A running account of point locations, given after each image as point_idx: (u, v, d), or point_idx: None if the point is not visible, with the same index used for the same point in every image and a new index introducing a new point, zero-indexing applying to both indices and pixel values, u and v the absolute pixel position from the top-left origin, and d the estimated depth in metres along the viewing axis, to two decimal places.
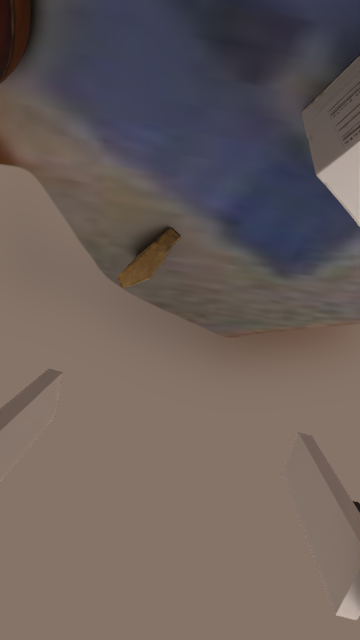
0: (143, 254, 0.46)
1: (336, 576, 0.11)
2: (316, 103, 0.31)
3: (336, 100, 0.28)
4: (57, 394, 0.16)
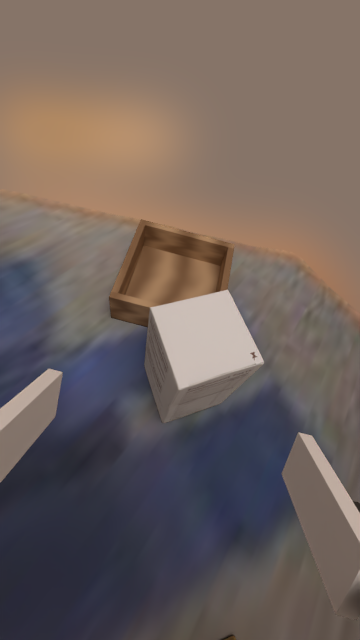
0: None
1: (336, 576, 0.11)
2: (158, 407, 0.40)
3: (157, 388, 0.37)
4: (57, 394, 0.16)
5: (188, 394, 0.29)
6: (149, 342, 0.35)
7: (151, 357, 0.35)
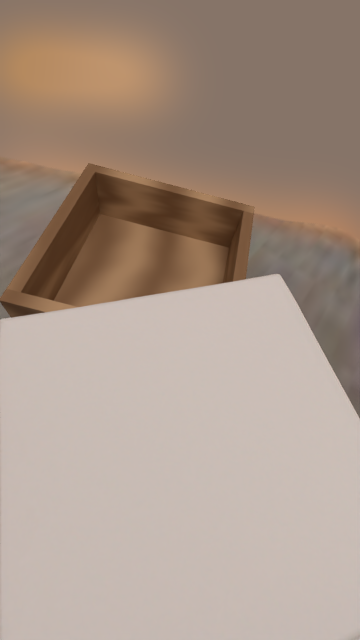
0: None
1: None
2: None
3: None
4: None
5: None
6: None
7: None
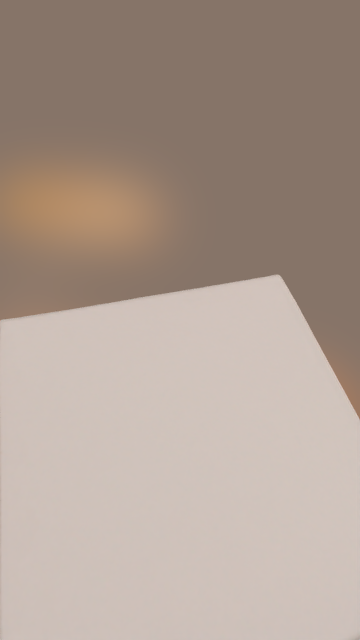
0: None
1: None
2: None
3: None
4: None
5: None
6: None
7: None
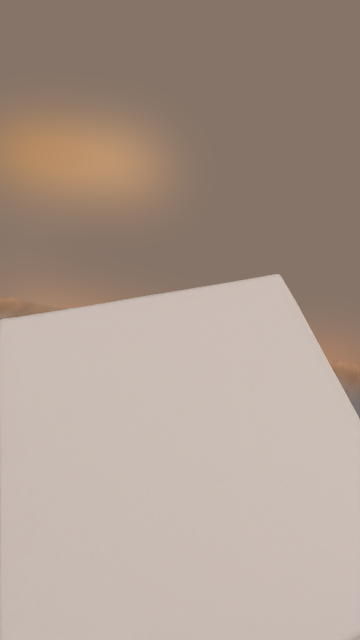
0: None
1: None
2: None
3: None
4: None
5: None
6: None
7: None
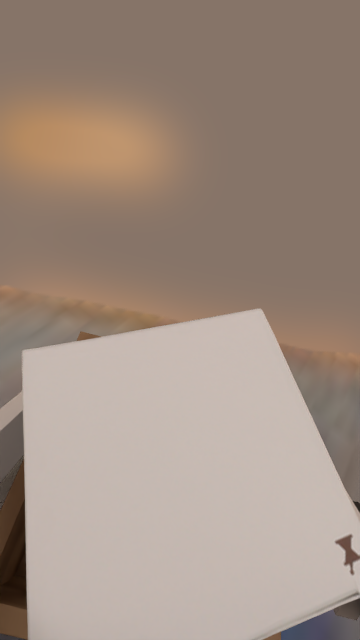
0: None
1: None
2: None
3: None
4: None
5: None
6: None
7: None
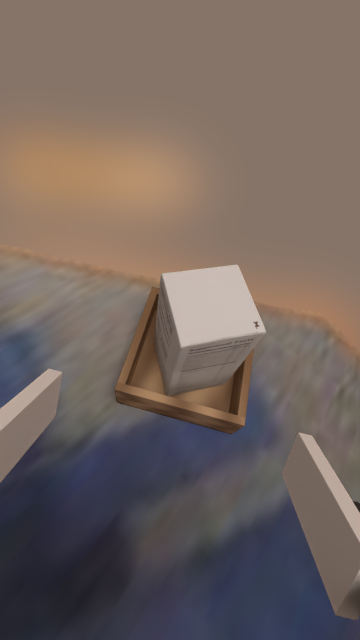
0: None
1: (336, 576, 0.11)
2: (163, 379, 0.41)
3: (163, 358, 0.38)
4: (57, 394, 0.16)
5: (190, 357, 0.31)
6: (159, 311, 0.37)
7: (160, 326, 0.37)
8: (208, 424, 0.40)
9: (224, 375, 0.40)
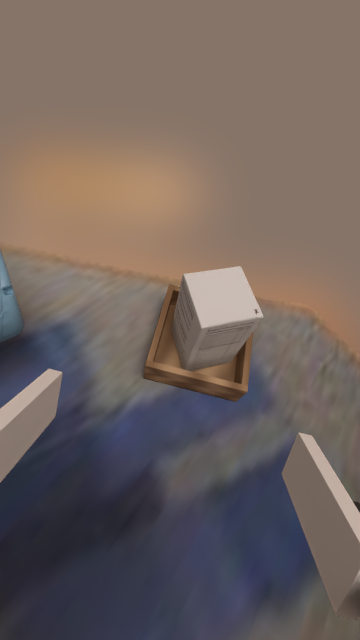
0: None
1: (336, 576, 0.11)
2: (181, 359, 0.51)
3: (182, 340, 0.48)
4: (57, 394, 0.16)
5: (207, 336, 0.41)
6: (179, 303, 0.47)
7: (179, 315, 0.47)
8: (218, 393, 0.50)
9: (230, 354, 0.50)
